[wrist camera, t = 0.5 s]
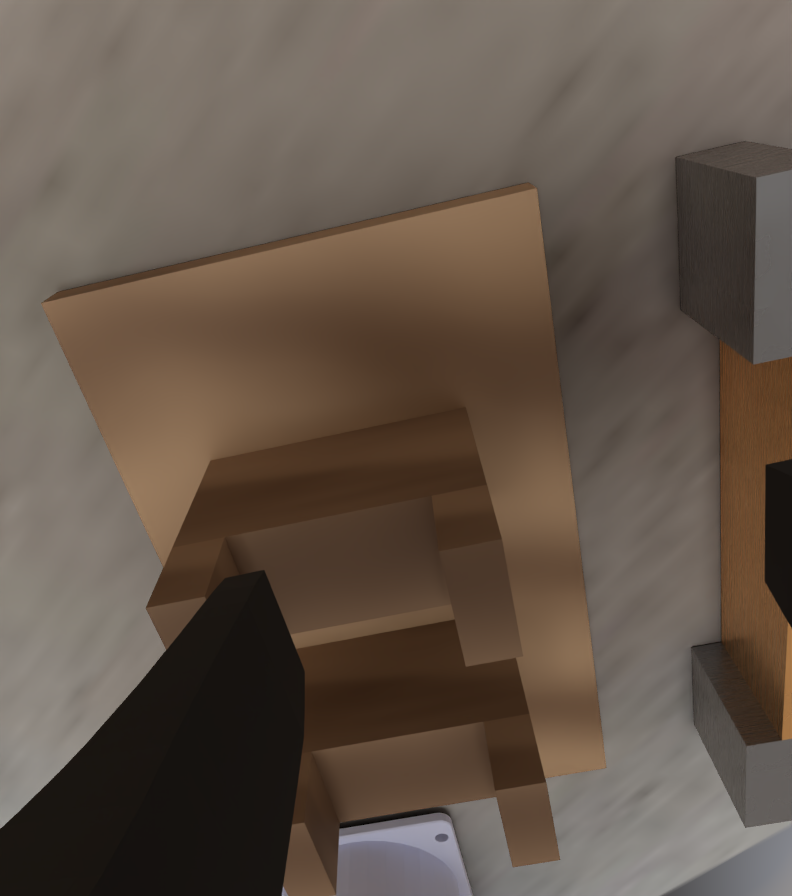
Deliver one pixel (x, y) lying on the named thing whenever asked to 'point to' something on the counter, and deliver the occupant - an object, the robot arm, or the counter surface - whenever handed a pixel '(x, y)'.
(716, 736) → the spanner
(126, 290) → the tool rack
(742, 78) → the counter surface
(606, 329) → the counter surface
